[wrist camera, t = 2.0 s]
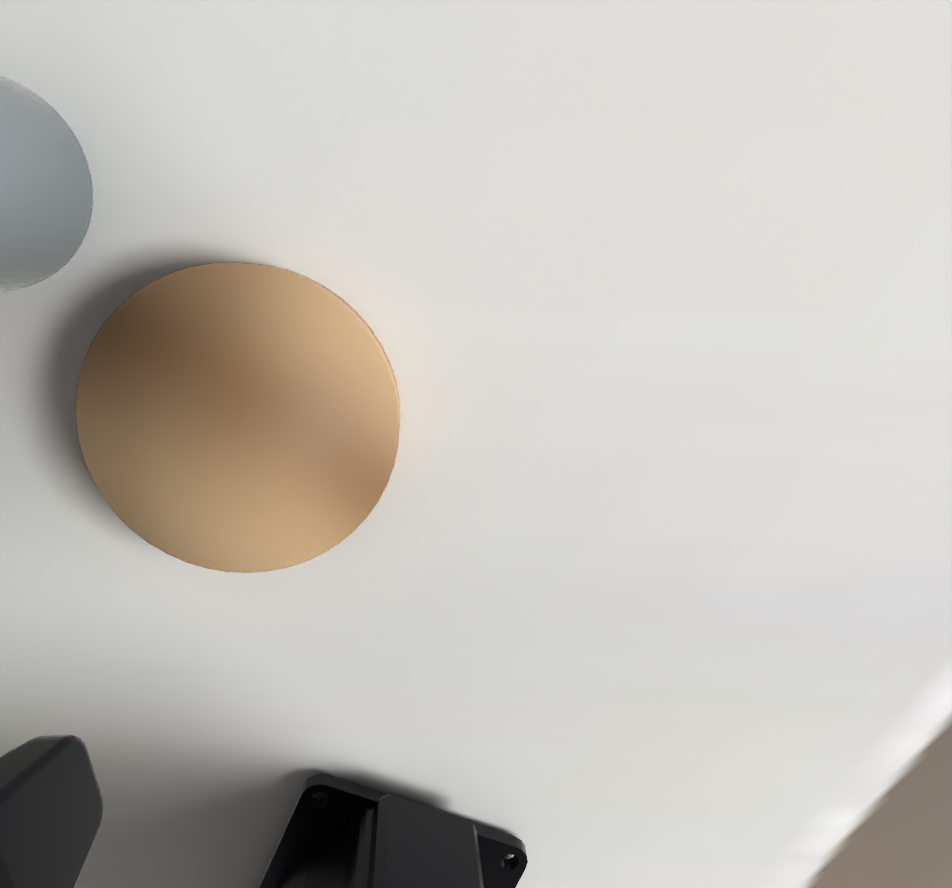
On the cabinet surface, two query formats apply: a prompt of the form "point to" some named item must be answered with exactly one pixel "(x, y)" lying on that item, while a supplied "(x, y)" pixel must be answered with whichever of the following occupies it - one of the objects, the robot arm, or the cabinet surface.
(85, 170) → the grey rounded cylinder
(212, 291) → the tan round disc
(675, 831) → the cabinet surface
